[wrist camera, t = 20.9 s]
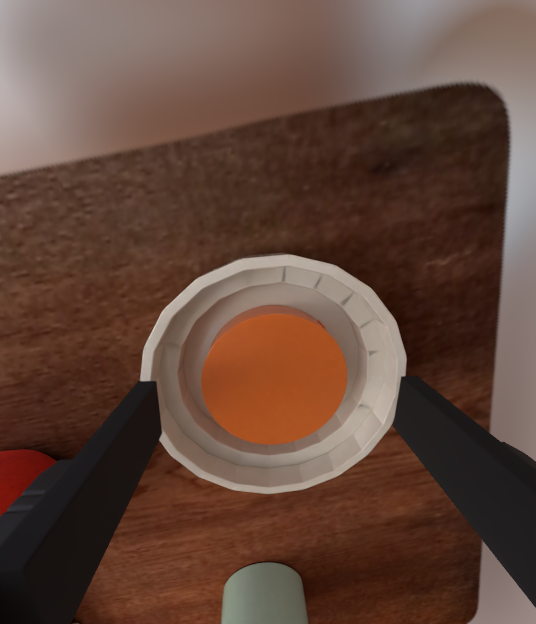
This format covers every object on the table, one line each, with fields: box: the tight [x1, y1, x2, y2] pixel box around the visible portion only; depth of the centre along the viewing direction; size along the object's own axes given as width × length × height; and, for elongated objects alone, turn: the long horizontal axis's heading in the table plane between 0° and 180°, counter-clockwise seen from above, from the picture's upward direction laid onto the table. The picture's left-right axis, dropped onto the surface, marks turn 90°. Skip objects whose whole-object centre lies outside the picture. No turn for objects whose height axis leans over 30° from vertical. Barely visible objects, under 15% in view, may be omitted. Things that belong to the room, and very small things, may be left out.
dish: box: [140, 253, 407, 494], centre depth 14 cm, size 13×13×3 cm
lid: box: [201, 305, 347, 445], centre depth 14 cm, size 8×8×2 cm
